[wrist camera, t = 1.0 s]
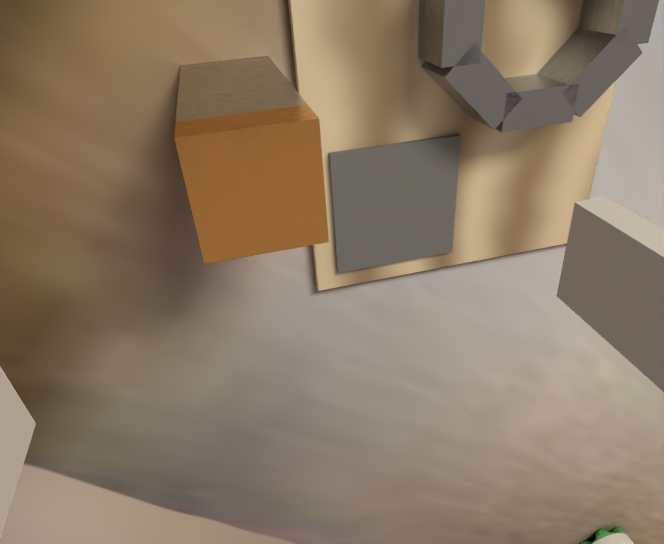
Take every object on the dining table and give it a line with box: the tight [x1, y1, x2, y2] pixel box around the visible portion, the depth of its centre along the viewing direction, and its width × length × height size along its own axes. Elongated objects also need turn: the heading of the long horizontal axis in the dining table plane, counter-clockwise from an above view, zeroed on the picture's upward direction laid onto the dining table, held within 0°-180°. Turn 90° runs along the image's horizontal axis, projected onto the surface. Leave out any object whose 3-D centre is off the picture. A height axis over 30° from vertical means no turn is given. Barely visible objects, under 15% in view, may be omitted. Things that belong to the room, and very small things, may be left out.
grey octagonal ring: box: [418, 0, 659, 132], centre depth 29 cm, size 13×13×4 cm
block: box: [174, 56, 329, 264], centre depth 24 cm, size 5×5×14 cm
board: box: [288, 0, 616, 291], centre depth 33 cm, size 22×26×1 cm
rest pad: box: [328, 134, 461, 273], centre depth 35 cm, size 9×9×1 cm
